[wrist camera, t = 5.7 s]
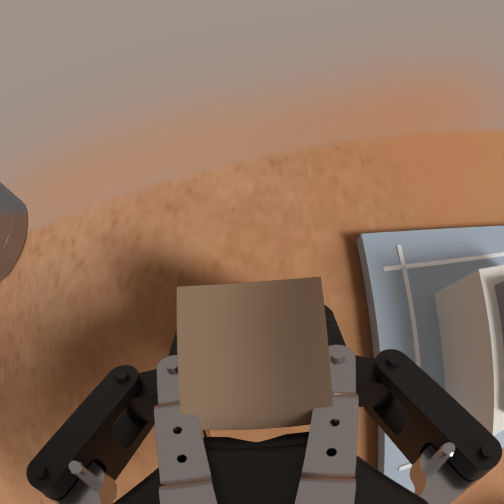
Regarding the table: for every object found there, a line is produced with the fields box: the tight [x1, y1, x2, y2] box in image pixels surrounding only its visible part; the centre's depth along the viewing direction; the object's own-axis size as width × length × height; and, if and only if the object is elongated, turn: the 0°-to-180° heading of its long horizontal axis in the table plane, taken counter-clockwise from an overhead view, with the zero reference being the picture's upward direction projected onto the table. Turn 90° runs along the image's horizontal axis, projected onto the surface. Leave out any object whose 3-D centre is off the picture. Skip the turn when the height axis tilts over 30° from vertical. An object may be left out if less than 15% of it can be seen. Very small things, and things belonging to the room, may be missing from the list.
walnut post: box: [177, 277, 333, 430], centre depth 12 cm, size 4×4×10 cm
